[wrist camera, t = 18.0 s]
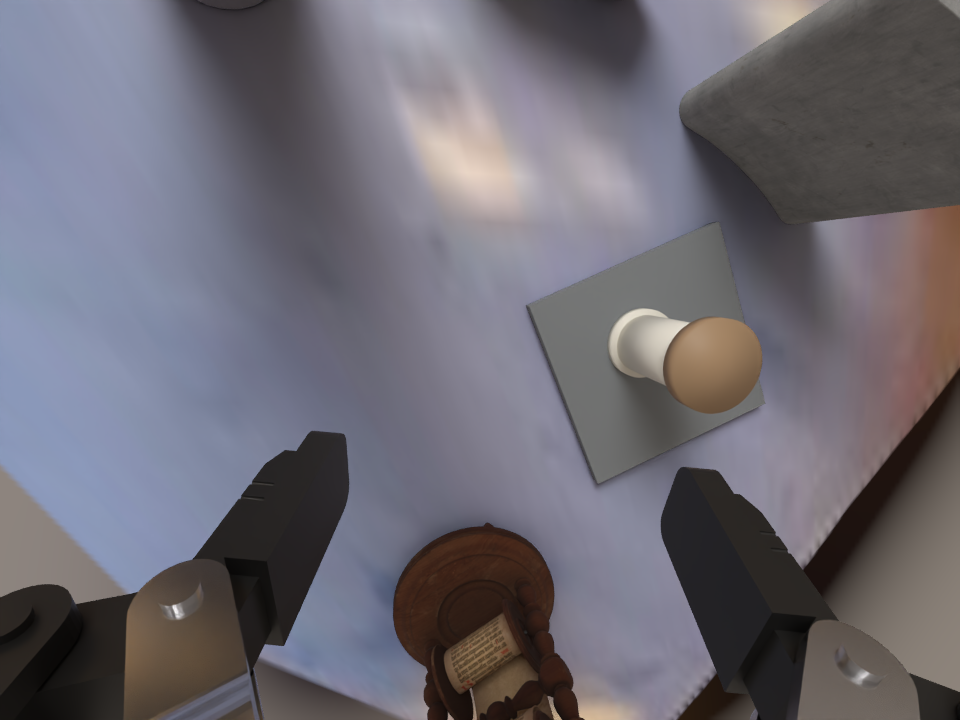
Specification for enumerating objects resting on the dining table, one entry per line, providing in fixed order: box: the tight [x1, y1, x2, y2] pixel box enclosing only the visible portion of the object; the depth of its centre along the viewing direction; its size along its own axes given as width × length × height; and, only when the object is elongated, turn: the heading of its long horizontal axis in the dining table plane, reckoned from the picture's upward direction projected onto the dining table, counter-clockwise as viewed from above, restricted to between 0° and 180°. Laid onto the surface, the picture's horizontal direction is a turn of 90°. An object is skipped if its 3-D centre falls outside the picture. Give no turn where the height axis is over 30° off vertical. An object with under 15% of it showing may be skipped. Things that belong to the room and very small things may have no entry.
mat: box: [526, 222, 765, 484], centre depth 39 cm, size 18×18×1 cm
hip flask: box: [679, 0, 960, 225], centre depth 27 cm, size 16×4×20 cm, turn 55°
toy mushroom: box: [607, 308, 762, 414], centre depth 33 cm, size 6×6×10 cm
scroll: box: [393, 523, 584, 720], centre depth 32 cm, size 15×15×20 cm
